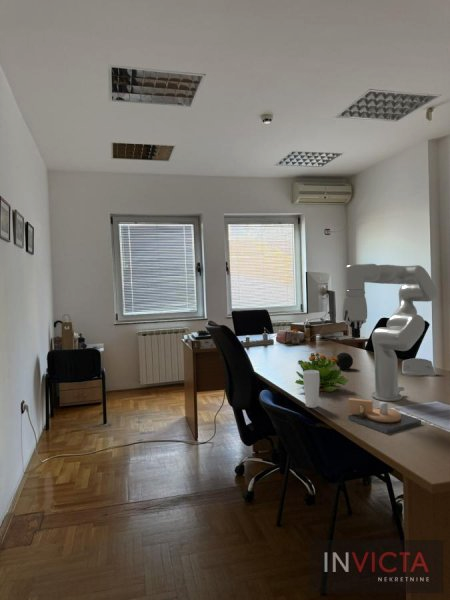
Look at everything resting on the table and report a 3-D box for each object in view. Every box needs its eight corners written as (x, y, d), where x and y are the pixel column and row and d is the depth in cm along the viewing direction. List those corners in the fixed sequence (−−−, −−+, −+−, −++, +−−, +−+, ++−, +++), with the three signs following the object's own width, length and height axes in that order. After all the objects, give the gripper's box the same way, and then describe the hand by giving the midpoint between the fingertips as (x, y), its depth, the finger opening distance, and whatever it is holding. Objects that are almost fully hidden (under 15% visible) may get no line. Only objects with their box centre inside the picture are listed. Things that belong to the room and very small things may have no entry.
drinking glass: (318, 409, 167) (318, 373, 167) (302, 408, 170) (301, 372, 169) (321, 404, 173) (320, 370, 173) (305, 403, 176) (304, 369, 175)
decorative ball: (352, 367, 245) (352, 351, 245) (353, 371, 235) (353, 354, 235) (335, 367, 247) (335, 351, 247) (335, 370, 238) (335, 353, 237)
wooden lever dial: (352, 408, 161) (351, 394, 161) (402, 413, 153) (402, 399, 153) (346, 417, 151) (346, 403, 151) (399, 424, 142) (399, 408, 142)
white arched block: (403, 375, 220) (401, 357, 223) (401, 376, 225) (399, 359, 228) (436, 376, 217) (433, 357, 220) (433, 377, 222) (431, 359, 225)
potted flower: (304, 397, 185) (303, 359, 184) (283, 385, 208) (282, 351, 207) (352, 392, 191) (351, 355, 191) (326, 380, 214) (326, 348, 214)
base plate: (381, 411, 163) (381, 397, 162) (421, 424, 147) (421, 409, 146) (348, 419, 154) (347, 405, 154) (386, 434, 138) (386, 418, 138)
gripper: (361, 293, 175) (362, 335, 176) (335, 294, 168) (336, 338, 169) (375, 293, 168) (375, 337, 169) (348, 294, 161) (349, 340, 162)
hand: (356, 337), depth 169 cm, fingers closed
